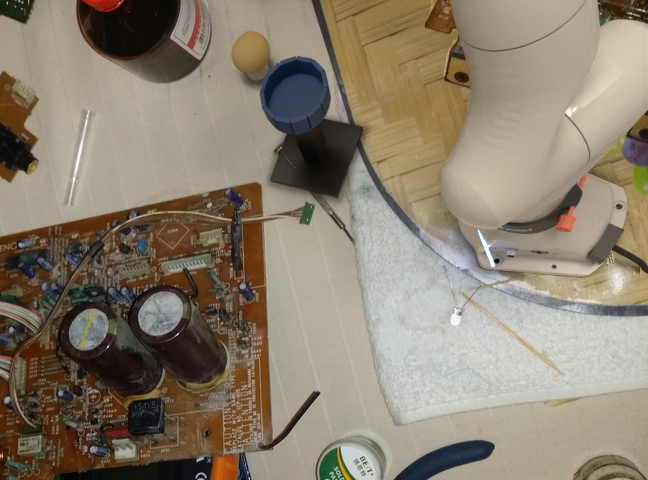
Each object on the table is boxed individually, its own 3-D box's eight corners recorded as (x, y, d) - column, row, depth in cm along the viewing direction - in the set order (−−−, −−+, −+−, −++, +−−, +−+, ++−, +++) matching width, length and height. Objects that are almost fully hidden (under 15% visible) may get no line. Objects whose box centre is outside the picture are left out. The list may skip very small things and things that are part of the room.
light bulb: (262, 95, 123) (250, 69, 114) (233, 79, 125) (220, 52, 116) (284, 63, 122) (274, 34, 113) (255, 47, 124) (242, 17, 115)
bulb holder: (340, 77, 97) (337, 62, 93) (317, 140, 98) (313, 128, 94) (279, 66, 100) (273, 51, 96) (257, 127, 101) (250, 115, 97)
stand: (363, 129, 117) (354, 69, 96) (337, 198, 118) (323, 153, 98) (295, 114, 121) (272, 54, 101) (271, 181, 122) (244, 135, 102)
